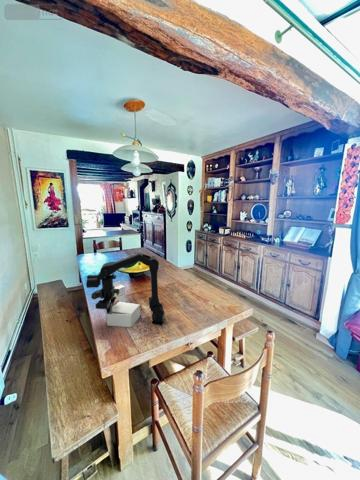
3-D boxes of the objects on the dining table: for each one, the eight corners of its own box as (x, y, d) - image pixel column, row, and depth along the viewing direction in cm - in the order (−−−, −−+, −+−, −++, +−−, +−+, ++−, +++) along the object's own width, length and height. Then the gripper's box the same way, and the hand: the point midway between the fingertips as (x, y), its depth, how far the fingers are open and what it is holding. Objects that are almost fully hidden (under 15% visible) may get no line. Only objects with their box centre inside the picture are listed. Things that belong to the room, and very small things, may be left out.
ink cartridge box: (115, 306, 138) (114, 285, 135) (111, 303, 141) (110, 284, 138) (125, 301, 144) (125, 282, 142) (121, 299, 147) (120, 280, 145)
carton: (139, 316, 126) (139, 304, 125) (131, 326, 116) (131, 313, 114) (119, 313, 129) (119, 301, 128) (110, 322, 119) (109, 310, 117)
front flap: (131, 326, 115) (130, 308, 113) (130, 327, 114) (130, 309, 112) (107, 324, 117) (106, 306, 114) (107, 325, 116) (106, 307, 113)
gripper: (101, 279, 120) (102, 302, 124) (84, 293, 102) (86, 320, 105) (119, 279, 120) (120, 303, 123) (105, 294, 101) (107, 322, 105)
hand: (109, 311), depth 114 cm, fingers closed
